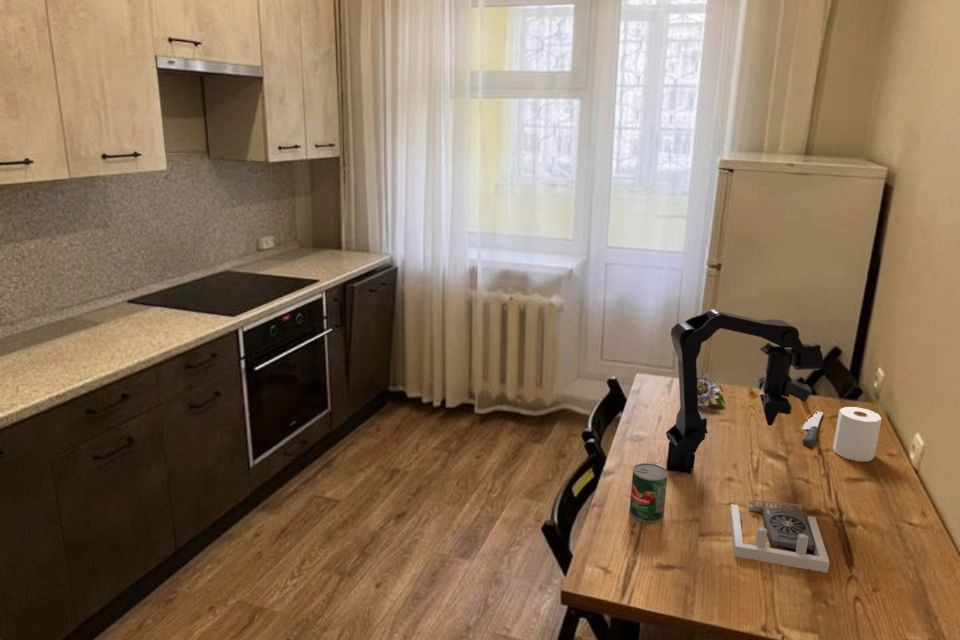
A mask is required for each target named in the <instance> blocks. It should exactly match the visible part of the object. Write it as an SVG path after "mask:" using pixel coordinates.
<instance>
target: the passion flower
mask: <svg viewBox="0 0 960 640" xmlns="http://www.w3.org/2000/svg"><path fill="white" fill-rule="evenodd" d="M719 382H720V381H719V380H712V381H710V380H709V374H708V373H704V374H703V376H699V377H697V391H698V407H699V406H701V403H703V405H704V406H706V407H708V406H709V405H710V400H711V399H714V400H715V402H716V403H717V406H718V408H720V407H721V408H722V407H723V405H725V404H726V402H725V399H724V396H723V395H722V394H721V393H722V392H724V389H723V387H722V385H721V384H719ZM719 388H720V389H719ZM720 390H721V391H720ZM720 392H721V393H720Z"/></svg>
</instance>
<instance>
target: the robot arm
mask: <svg viewBox="0 0 960 640" xmlns="http://www.w3.org/2000/svg"><path fill="white" fill-rule="evenodd" d="M720 329H721V330H722V329H723V330H727V331H732V332H736V333H741V334H744V335H749V336H755V337H759V338H762V339H764V340H765V341H768V342H767V343H766V344H765V345H763V346H762V347H760V349H759V350H760V352H762V353H764V354H765V355H767V360H766V367H765V368H764V370H763V371H764V372H763V373H764V376H762V377H760V378H759V379H758V383H757V388H758V390H762V392H763V394H759V397H760V401H761V405H762V409H763V412H764V415H765V419H766V424H767V426H773V425H774V422H775V420H776V419H777V415H778V414H784V415H790V414H792V410H793V409H792V407H793V406H792V403H791V401H790V400H789V399H788V398H789V397H790V396H791V397H794V398H797V399H799V400H800V401H801V402H804V403H806V402H807V401H808V399H809V397H810V396H811V395H812V392H813V390H812V388H811V387H810V386H809V385H808V384H807V383H806V379H805V378H804V377H803V376H800V375H798V376H796V377H795V378H794V377H793V378H792V376H790V375H791V373H790V372H791V366H792V367H793V369H794V370H796V371H818V370H821V369H822V367H823V365H824V362H825V361H824V357H823V353H822V351H821V349H822V346H821V345H820V344H818V343H816V342H815V343H804V344H803V342H802V341H801V340H800V332H799V329H798V328H797V327H795V326H793V325H792V324H790V323H789V322H786V321H785V320H782V319H765V320H762V319H761V320H760V319H755V318H750V317H747V316H742V315H738V314H733V313H728V312H724V311H720V310H718V309H714V308H712V309H710V310H708V311H706V312H704V313H703V314H702V313H701V314H700V315H697V316H693V317H690V318H688V319H687V320H685V321H681V322H678V323H676V324H675V325H674V326H673V327H672V328H671V330H670V337H671V342H672V345H673V348H674V351H675V355H677V356H676V357H677V362H678V365H677V366H678V383H679V388H678V389H679V405H680V406H679V410H678V412H677V414H676V418H675V419H676V420H675V424H674V425H673V426H671V427H670V428H669V429H668V430H667V431H666V432H665V434H666V438H667V440H668V450H667V458H666V464H665V465H666V466H665V470H666V471H669V472H670V471H671V472H676V473H677V472H678V473H683V474H692V473H693V471H692V470H694V468H695V461H696V460H695V459H696V453H697V450H698V448H699V445H701V443H702V442H703V441H704V440H705V438H706V434H708V433H709V432H708V430H707V423H708V419H707V418H706V416H705V415H704V414H703V413H702V412H701V411H700V410H699V406H698V391H697V378H698V372H697V371H698V370H697V368H698V367H697V360H698V357H699V355H700V353H701V350H702V348H701V347H702V343H704V342H706V341H708V340H709V339H710V338H711V337H712V336H713V335H714V334H715V333H716V332H717V331H719V330H720ZM769 342H771V343H772V344H775V345H772V344H771V343H769ZM786 397H787V398H786Z"/></svg>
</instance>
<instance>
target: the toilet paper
mask: <svg viewBox="0 0 960 640" xmlns="http://www.w3.org/2000/svg"><path fill="white" fill-rule="evenodd" d="M837 416H838V417H837V423H836V429H835V434H834V439H833V443H832V444H833V445H832V449H834V450H833V452H834V451H835V452H834V453H835V454H836V453H837V454H836V455H838V456H839V455H840V456H839V457H841V456H842V457H841V458H843V457H844V458H843V459H846V458H847V459H846V460H850V459H851V461H854V460H855V462H871V461H872V460H873V458H875V455H876V450H877V444H878V440H879V434H880V429H881V425H882V417H881V416H880V414H879V413H877V412H875V411H872V410H871V409H868V408H861V407H858V406H844V407H841V408H840V409H839V411H838V415H837Z"/></svg>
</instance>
